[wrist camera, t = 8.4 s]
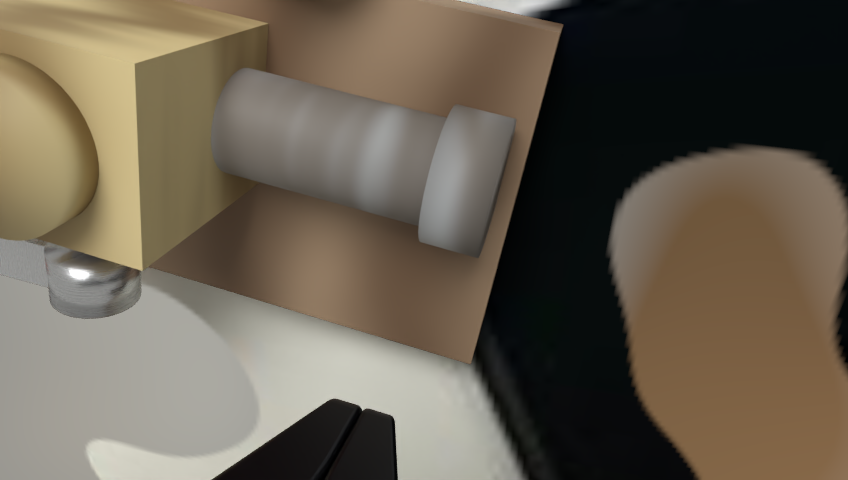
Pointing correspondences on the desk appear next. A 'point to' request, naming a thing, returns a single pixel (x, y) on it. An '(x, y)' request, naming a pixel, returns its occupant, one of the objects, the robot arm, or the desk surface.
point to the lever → (72, 277)
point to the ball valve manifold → (279, 148)
